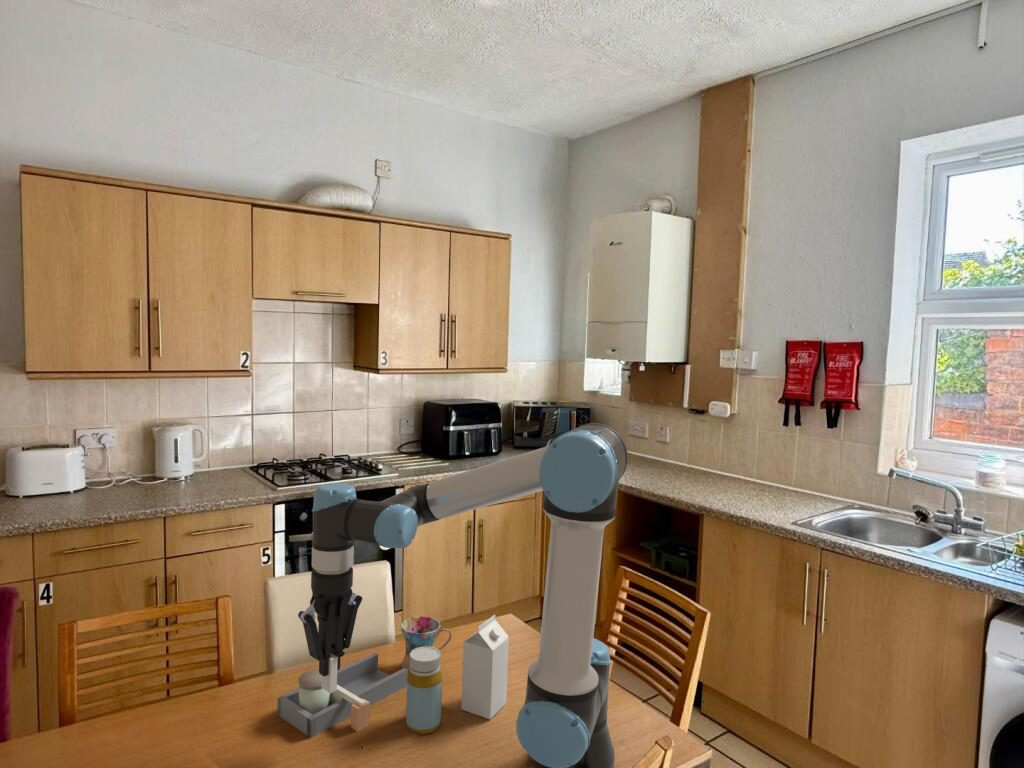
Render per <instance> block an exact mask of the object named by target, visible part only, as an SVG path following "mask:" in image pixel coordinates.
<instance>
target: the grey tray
mask: <svg viewBox="0 0 1024 768" xmlns="http://www.w3.org/2000/svg"><path fill="white" fill-rule="evenodd" d="M407 675H408V669H406V668H402V669H400V670H398V671H396V672H394V673H392V674H387V673H385V672H383V671H382V670H379V654H378V653H376V652H373V653H372V654H369V655H366V656H365V657H362V658H360V659H358V660H356V661H354V662H352V663H349V664H347V665H345V666H343V667H340V669H339V670H337V685H339V686H340V687H342V688H344V689H346V690H347V691H349V692H351V693H352V694H354V695H356V696H358V697H359V698H361V699H365V700H367V701H369V702H370V707H371V706H373V705H374V704H376V703H378V702H380V701H382V700H384V699H387V698H388V697H389V696H391V695H393V694H394V693H395V694H396V693H397V692H398V691H400V690H402V689H404V688H407ZM351 705H352V703H350V702H349V701H347V700H345V699H343V700H341V701H339V702H337V703H335V704H333V705H331V706H329V707H327V708H325V709H323V710H321V711H319V712H317V713H315V714H313V715H312V714H311V713H309V712H307V711H306V710H304V709H303V708H301V707H300V706H299V687H298V688H296V689H294V690H292V691H289V692H287V693H285V694H283V695H280V696H279V697H277V716H278V717H280V718H281V719H282V720H284V721H285V722H287V723H288V724H289V725H291V726H292V727H293V728H296V729H297V730H298V731H299V732H301V733H302V734H304V735H305V736H307V737H308V738H309V739H312V738H314V737H316V736H317V735H320V734H322V733H323V732H325V731H327V730H329V729H330V728H333V727H334V726H335V725H338V724H340V723H341V722H343V721H345V720H347V719H349V718H351Z"/></svg>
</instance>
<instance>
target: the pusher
mask: <svg viewBox="0 0 1024 768" xmlns="http://www.w3.org/2000/svg"><path fill="white" fill-rule="evenodd" d="M343 699H345V700H347V701H349V702H350V703H352V705H351V717H350V728H351V729H352V730H354V731H356V732H359V731H362V730H363V729H364V728H366V727H368V726H370V725H371V724H370V723H371V722H370V720H371V717H370V716H371V706H370V702H369V701H367V700H365V699H361V698H359V697H358V696H356V695H354V694H352V693H351V692H349V691H347V690H346V689H344V688H342V687H340V686H339V685H337V690H336V691H334V692H332V693H330V706H331V705H333V704H335V703H337V702H339V701H341V700H343Z"/></svg>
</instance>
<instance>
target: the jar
mask: <svg viewBox="0 0 1024 768" xmlns="http://www.w3.org/2000/svg"><path fill="white" fill-rule="evenodd" d="M297 680H298V688H299V706H300V707H301V708H303V709H304V710H306V711H307V712H309V713H311V714H312V715H313V714H315V713H317V712H319V711H321V710H323V709H325V708H327V707H329V706H330V693H329V692H327V691H326V690H324V689H323V688H321V687H322V675H321V674H320V673H319V669H312V670H308V671H306V672H303V673H302V674H301V675H300V676H299V677H298V679H297Z"/></svg>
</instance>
